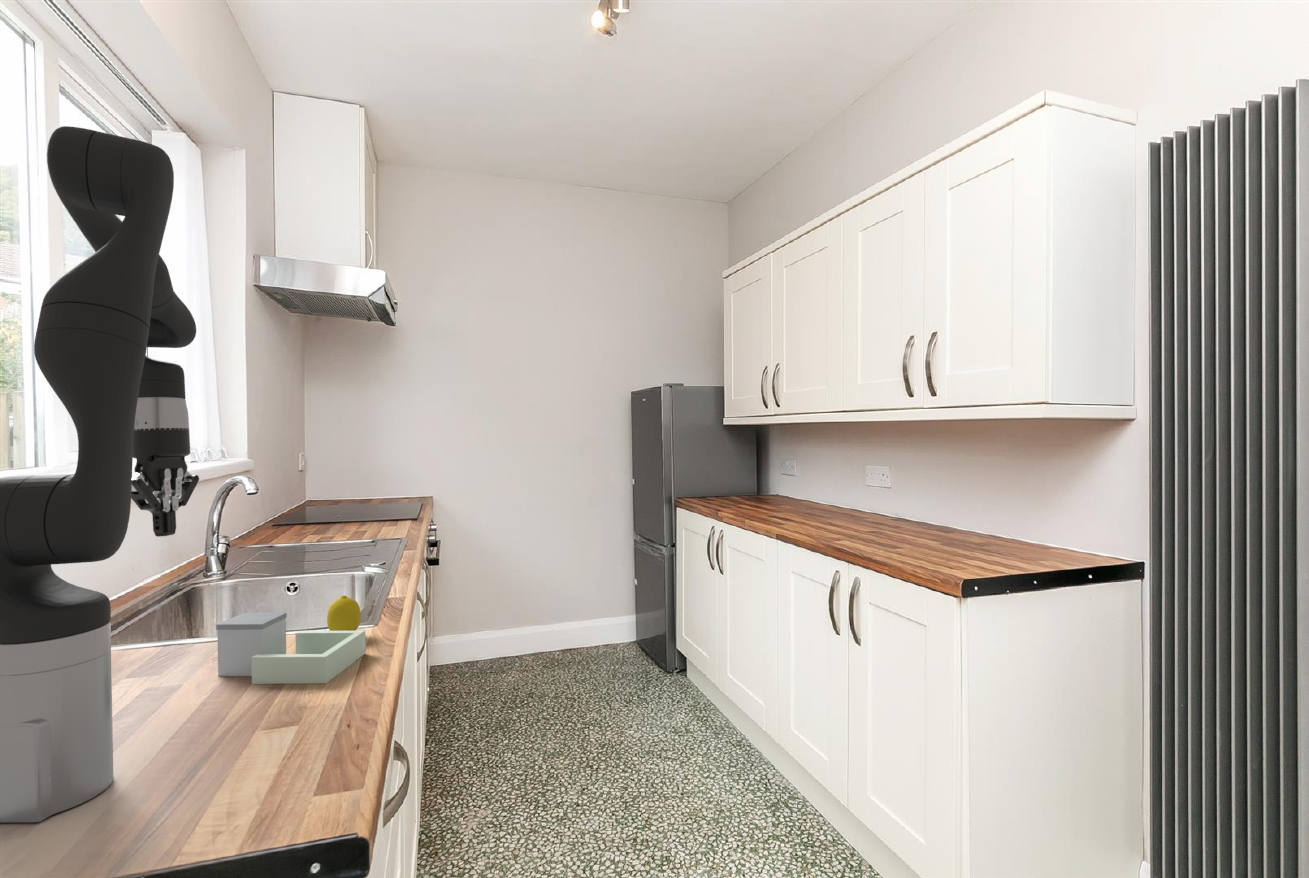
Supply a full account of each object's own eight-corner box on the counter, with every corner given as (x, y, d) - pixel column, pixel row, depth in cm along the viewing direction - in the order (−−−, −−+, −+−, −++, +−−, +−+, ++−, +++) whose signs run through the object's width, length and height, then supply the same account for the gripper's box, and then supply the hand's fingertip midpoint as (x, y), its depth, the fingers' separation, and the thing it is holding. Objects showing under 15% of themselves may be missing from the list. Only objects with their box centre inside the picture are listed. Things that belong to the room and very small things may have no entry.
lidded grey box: (263, 676, 96) (262, 624, 96) (217, 676, 96) (216, 624, 96) (287, 661, 102) (286, 612, 102) (243, 661, 102) (243, 613, 102)
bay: (326, 683, 93) (325, 656, 93) (251, 683, 93) (251, 657, 93) (365, 654, 105) (365, 630, 105) (300, 654, 105) (299, 631, 105)
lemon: (351, 644, 110) (351, 599, 110) (321, 644, 110) (320, 599, 110) (366, 634, 116) (366, 591, 116) (337, 634, 116) (336, 591, 116)
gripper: (147, 424, 92) (153, 540, 92) (213, 427, 106) (218, 528, 105) (98, 427, 93) (104, 543, 92) (170, 430, 106) (175, 531, 106)
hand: (165, 535), depth 99 cm, fingers closed
